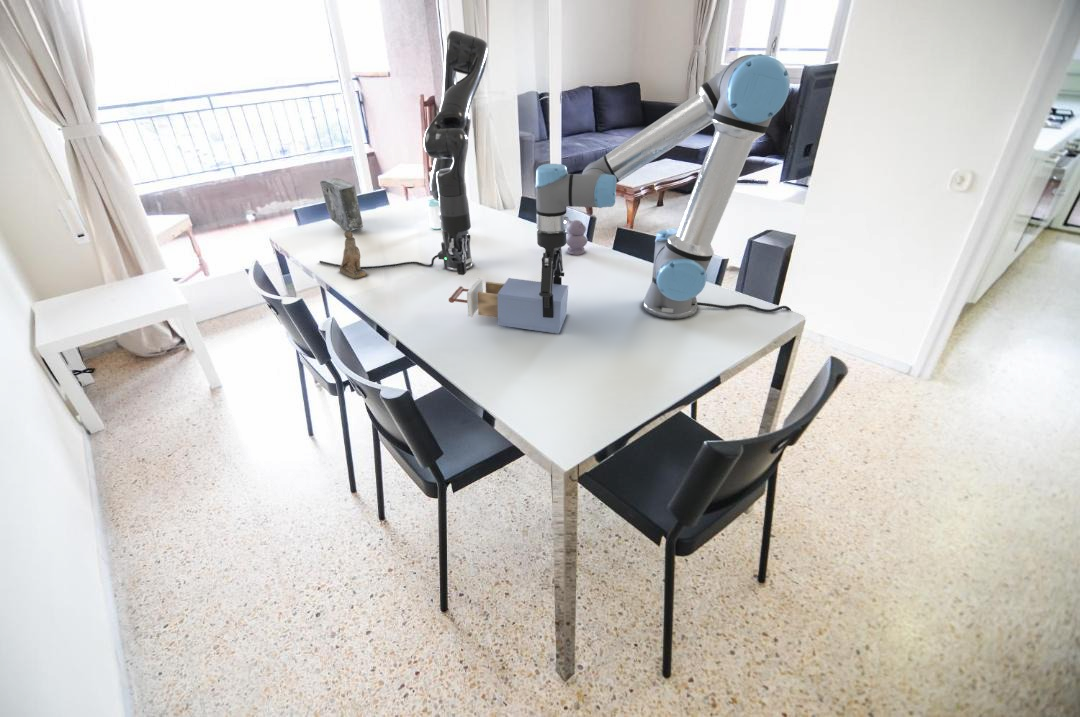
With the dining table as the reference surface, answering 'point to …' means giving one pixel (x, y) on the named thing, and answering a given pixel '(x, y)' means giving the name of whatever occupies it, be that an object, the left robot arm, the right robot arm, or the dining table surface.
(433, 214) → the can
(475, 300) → the drawer
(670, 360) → the dining table surface
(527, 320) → the cabinet
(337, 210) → the concrete block
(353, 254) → the worn brown figurine
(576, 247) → the lavender rounded piece
